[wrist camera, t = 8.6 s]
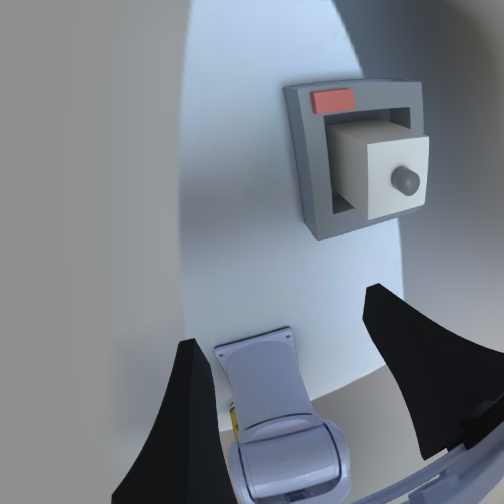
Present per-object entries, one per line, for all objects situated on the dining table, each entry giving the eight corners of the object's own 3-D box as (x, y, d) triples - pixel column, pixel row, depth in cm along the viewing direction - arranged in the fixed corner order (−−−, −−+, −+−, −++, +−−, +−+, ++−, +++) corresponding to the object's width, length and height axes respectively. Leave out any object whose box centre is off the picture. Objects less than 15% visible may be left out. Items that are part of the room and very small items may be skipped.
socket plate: (401, 197, 21) (422, 213, 19) (304, 223, 21) (320, 245, 18) (398, 78, 15) (426, 83, 13) (283, 87, 15) (300, 89, 12)
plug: (382, 175, 19) (433, 211, 14) (331, 186, 19) (377, 229, 14) (381, 118, 17) (440, 141, 12) (325, 125, 16) (378, 149, 12)
